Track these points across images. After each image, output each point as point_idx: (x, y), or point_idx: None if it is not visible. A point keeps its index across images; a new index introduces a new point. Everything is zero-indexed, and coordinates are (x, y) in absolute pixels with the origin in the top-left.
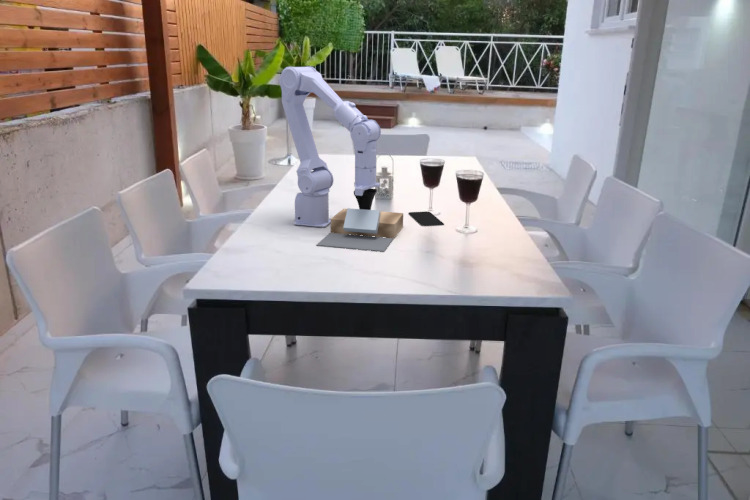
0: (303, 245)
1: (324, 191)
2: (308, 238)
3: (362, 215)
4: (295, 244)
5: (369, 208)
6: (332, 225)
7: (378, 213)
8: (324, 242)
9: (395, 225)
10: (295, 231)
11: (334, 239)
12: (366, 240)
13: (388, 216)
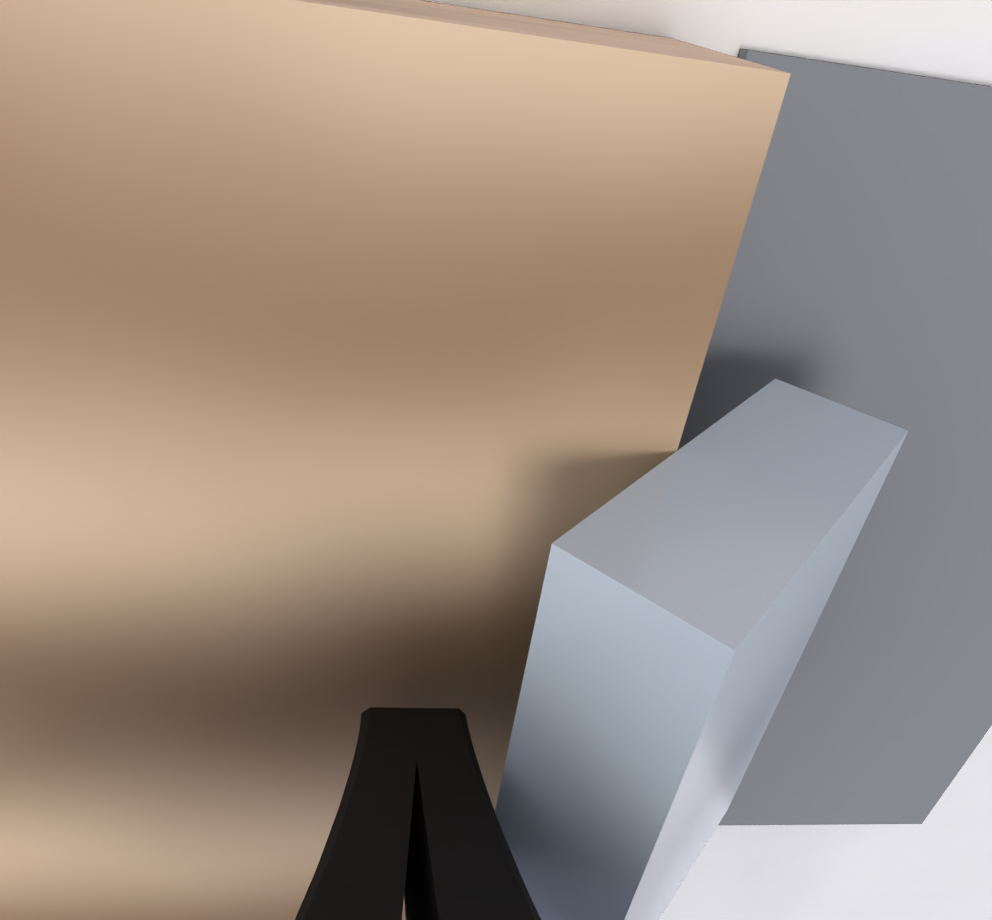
0: (885, 877)
1: None
2: (691, 896)
3: (699, 810)
4: (852, 917)
5: (510, 857)
6: None
7: (768, 613)
8: (865, 793)
9: (646, 48)
10: None
11: (771, 750)
12: None
13: (42, 328)
